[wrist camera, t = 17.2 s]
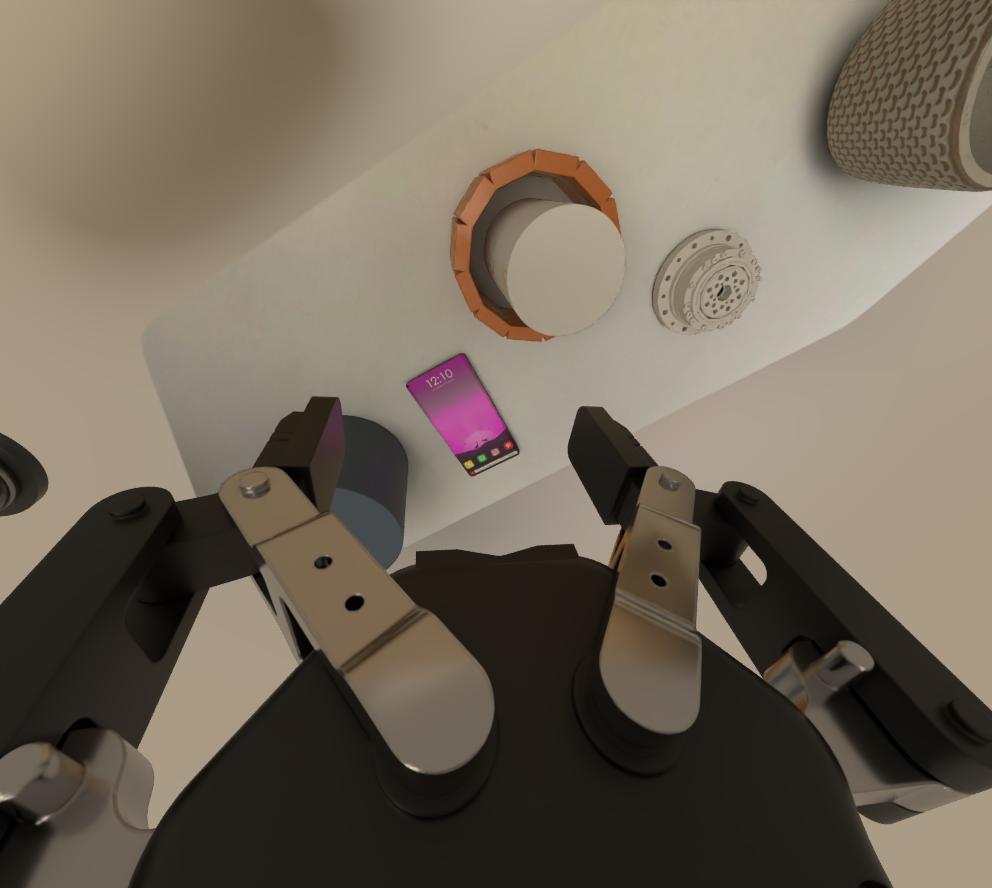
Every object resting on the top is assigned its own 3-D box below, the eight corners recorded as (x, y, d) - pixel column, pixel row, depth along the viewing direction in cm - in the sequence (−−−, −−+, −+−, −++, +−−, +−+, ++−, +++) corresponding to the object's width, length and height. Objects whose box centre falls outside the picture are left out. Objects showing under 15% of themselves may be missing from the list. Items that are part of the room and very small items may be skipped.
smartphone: (469, 473, 48) (470, 477, 48) (404, 382, 40) (403, 386, 39) (519, 449, 47) (520, 453, 47) (462, 351, 39) (463, 354, 38)
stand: (312, 514, 49) (283, 597, 39) (264, 425, 40) (212, 501, 31) (418, 496, 50) (416, 572, 40) (392, 406, 41) (382, 474, 32)
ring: (446, 314, 37) (449, 334, 32) (456, 142, 29) (462, 134, 24) (573, 326, 39) (593, 346, 34) (611, 171, 32) (644, 169, 27)
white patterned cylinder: (465, 251, 34) (481, 277, 24) (531, 174, 31) (579, 169, 21) (523, 313, 38) (557, 358, 28) (586, 250, 35) (646, 275, 25)
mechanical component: (638, 270, 37) (666, 347, 42) (660, 279, 33) (688, 362, 39) (733, 205, 35) (750, 295, 40) (768, 207, 31) (782, 306, 37)
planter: (812, 225, 37) (965, 240, 27) (763, 90, 30) (942, 39, 20) (964, 92, 33) (1221, 47, 22) (946, -101, 26) (1303, -298, 15)
